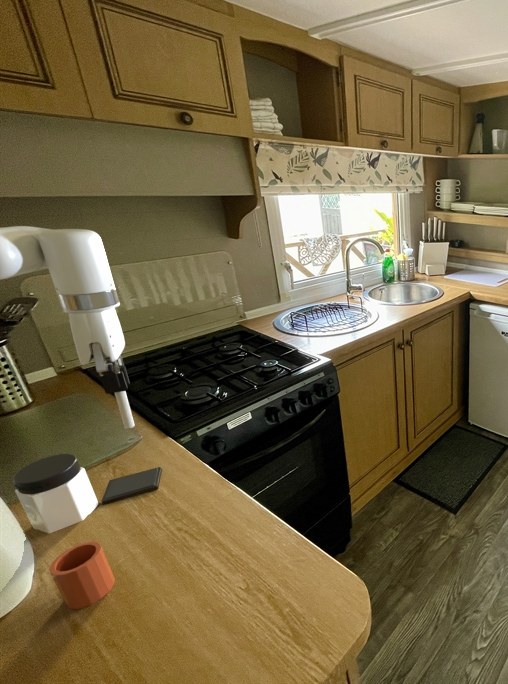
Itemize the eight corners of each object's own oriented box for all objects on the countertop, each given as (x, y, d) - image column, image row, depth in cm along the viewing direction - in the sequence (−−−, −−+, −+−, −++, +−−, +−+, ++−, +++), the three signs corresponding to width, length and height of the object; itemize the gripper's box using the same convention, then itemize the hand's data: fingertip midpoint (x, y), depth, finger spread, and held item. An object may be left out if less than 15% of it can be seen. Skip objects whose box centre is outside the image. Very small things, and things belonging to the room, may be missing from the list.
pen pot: (62, 618, 56) (43, 581, 53) (73, 586, 60) (56, 551, 58) (111, 599, 59) (95, 563, 56) (119, 570, 63) (104, 536, 60)
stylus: (123, 430, 76) (105, 365, 71) (126, 426, 77) (108, 362, 72) (133, 429, 76) (116, 364, 71) (136, 425, 78) (118, 361, 73)
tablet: (102, 505, 76) (101, 501, 75) (110, 483, 81) (109, 479, 81) (158, 488, 80) (157, 485, 80) (162, 469, 86) (161, 465, 86)
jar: (24, 527, 70) (-2, 477, 66) (77, 496, 78) (57, 449, 73) (56, 540, 68) (32, 488, 64) (107, 506, 75) (88, 459, 71)
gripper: (74, 291, 71) (102, 376, 78) (44, 314, 59) (81, 413, 65) (125, 288, 75) (148, 369, 82) (107, 309, 63) (136, 402, 69)
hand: (118, 388), depth 74 cm, fingers closed on stylus, 1 cm apart
